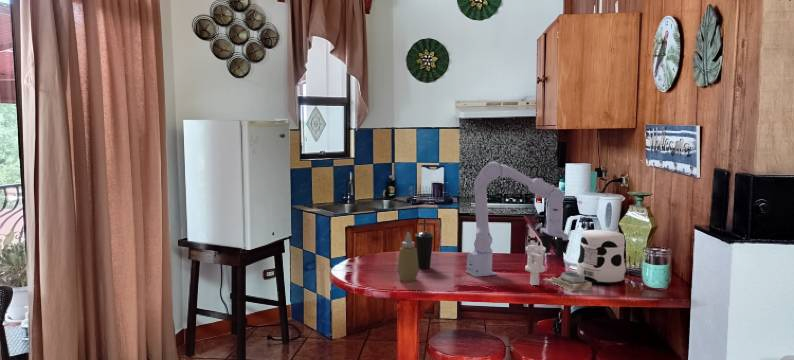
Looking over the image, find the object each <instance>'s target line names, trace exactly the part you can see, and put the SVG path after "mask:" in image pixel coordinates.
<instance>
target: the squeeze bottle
mask: <svg viewBox="0 0 794 360" xmlns="http://www.w3.org/2000/svg"><path fill="white" fill-rule="evenodd" d="M415 245H416V241H412V235H411V232H406V235H405V239H404V241H402V243H401V247H400V248H399V254H398V261H397V262H398V263H397V273H398V277H399V279H400V281H403V282H413V281H416V280H417V277H418V274H419V270H420V268H419V267H418V256H417V247H415Z"/></svg>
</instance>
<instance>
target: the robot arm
mask: <svg viewBox="0 0 794 360" xmlns="http://www.w3.org/2000/svg"><path fill="white" fill-rule="evenodd" d="M499 177H500V178H501V179H503V178H505V179H507V178H509V179H511V180H514V181H516V182H518V183H520V184H522V185H524V186H526V187H527V188H528V191H529V192H531V193H532V194H535V195H536V196H538V197H541V198H542V199H547V201H548V202H547V209H546V227H540V229H539V233H540V234H538V237H539V239H540V241H541V242H540V243H542V245H541V246H542V247H545V248H546V252H544V254H549V253H550V252H551V247H552V241H554V244H555V248H556V249H555V254H556V255H555V256H556V258H557V259H558V258H559V259H560V258H563V256H564V253H565V249H566V248H567V246H568V244H569V243H570V239H569V237H570V236H569V234H567V233H566V232H565V230H563V220H564V219H563V217H564V207H563V206H564V203H563V202H564V200H565V195H564V193H563V190H562V189H560V188H559V187H557V186H556V185H555V184H550V183H548V182H546V181H544V179H543V178H541V177H540V178H538V177H535V178H531V177H528V176H527V175H525V174H524V173H522V172H520V171H518V170H516V169H514V168H512V167H511V166H509V165H506V164H504V163H500V162H498V161H495V160H493V161H489V162H488V163H487V164H486V165H485V166H483V167H482V168H481V170H480V172H479V173H478V175H477V176H476V178H475V179H474V182H473V189H474V191H473V192H474V205H475V206H474V208H475V209H474V210H475V227H476V229H475V240H474V243H473V246H474V248H473V251H470V252H468V253H467V255H466V270H465V272H466V273H467V274H469V275H471V276H472V277H486V276H495V275H497V272H494V271H493V249H492V247H491V245H492V243H493V237H492V235H491V233H490V226H489V213H488V212H489V210H488V195H487V194H488V193H487V186H488V185H489V184H490V183H491V182H492V181H495V180H496V179H498V178H499ZM554 237H555V238H554ZM553 238H554V239H553Z"/></svg>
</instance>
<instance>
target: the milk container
mask: <svg viewBox="0 0 794 360" xmlns="http://www.w3.org/2000/svg"><path fill="white" fill-rule="evenodd" d="M579 243H580V244H579V257H578V259H577V263H576V272H577V273H576V274H579V275H582V276H584V280H586V281H589V282H592V284H593V283H594V284H599V285H612V284H618V283H621V282H623V281H624V279H625V277H626V263H625V258H624V254H625V243H626V242H625V235H624V233H621V232H617V231H612V230H606V229H605V230H604V229H587V230H584V231H581V233H580V242H579Z"/></svg>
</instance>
